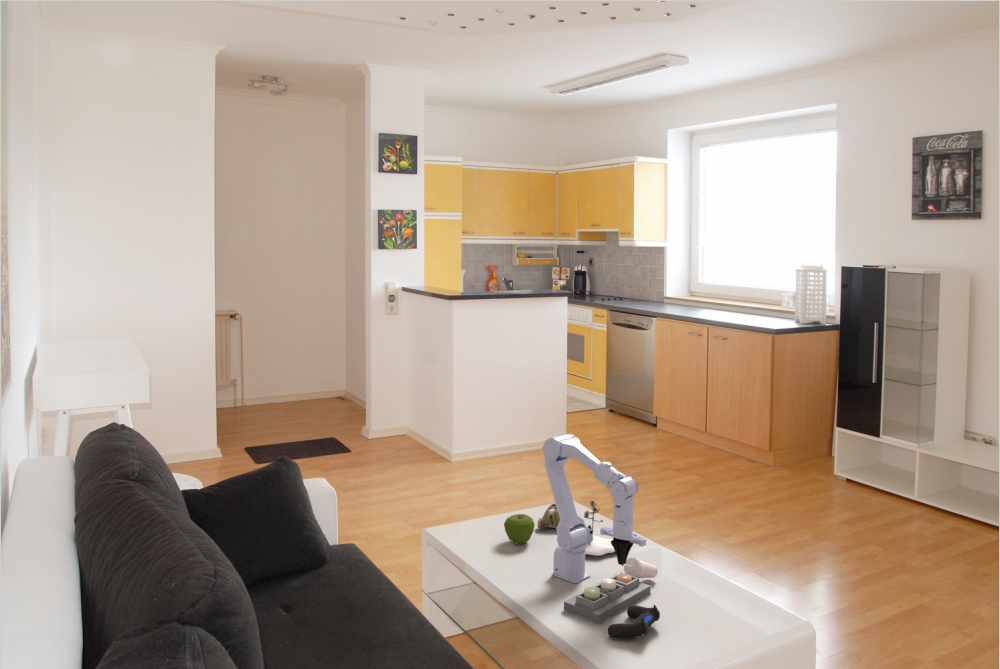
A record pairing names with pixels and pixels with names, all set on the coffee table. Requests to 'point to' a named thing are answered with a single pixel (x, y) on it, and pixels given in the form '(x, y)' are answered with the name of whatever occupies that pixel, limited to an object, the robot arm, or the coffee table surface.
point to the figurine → (597, 543)
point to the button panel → (607, 600)
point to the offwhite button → (608, 584)
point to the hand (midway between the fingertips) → (622, 563)
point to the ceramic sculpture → (550, 518)
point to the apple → (519, 528)
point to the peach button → (624, 578)
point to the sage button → (592, 593)
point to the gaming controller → (635, 623)
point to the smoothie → (639, 568)
